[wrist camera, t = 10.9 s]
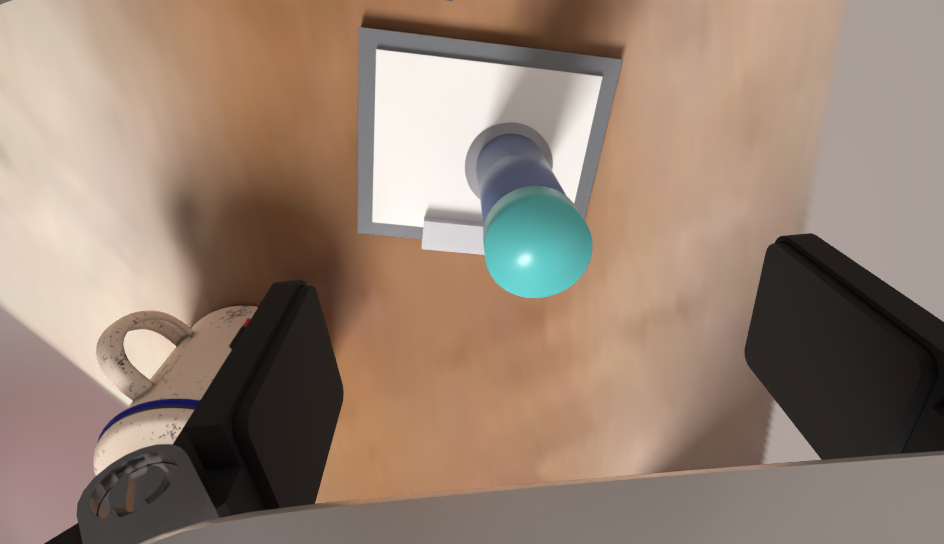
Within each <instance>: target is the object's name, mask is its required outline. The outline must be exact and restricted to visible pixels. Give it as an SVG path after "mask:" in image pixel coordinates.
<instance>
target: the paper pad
mask: <svg viewBox="0 0 944 544" xmlns="http://www.w3.org/2000/svg"><path fill="white" fill-rule="evenodd" d="M621 64H622V59H619V58H610V57H602V56H594V55H586V54H578V53H570V52H562V51H554V50H546V49H538V48H530V47H522V46H514V45H506V44H498V43H490V42H481V41H473V40H465V39H457V38H449V37H441V36H433V35H425V34H417V33H409V32H401V31H393V30H385V29H377V28H369V27H359V89H358V223H357V233H361V234H372V235H383V236H394V237H404V238H415V239H422V249H427V250H438V251H449V252H460V253H471V254H482V255H485V252H484V244H483V227H484V224H483V217H482V209H481V202H480V195H479V188H478V181H477V173H476V164H477V159H478V156H479V154H480V152H481V150H482V149H483V147H484V146H485V145H486V144H487V143H488V142H489V141H491V140H492V139H494V138H496V137H497V136H500V135H504V134H520V135H523V136H525V137H527V138H529V139H531V140H532V141H533V142H534V143H535V144H536V145H537V146H538V147H539V149H540V151H541V152H542V154H543V156H544V158H545V159H546V161H547V163H548V164H549V166H550V168H551V170H552V171H553V173H554V175H555V177H556V178H557V180H558V182H559V184H560V185H561V187H562V189H563V191H564V192H565V194H566V196H567V197H568V198H569V199H570V200H571V201H572V202H573V203H574V204H575V206H576V208H577V209H578V211H579V212H580V214H581V216H582V218H583V219H584V220H585V216H586V212H587V207H588V203H589V199H590V195H591V191H592V186H593V182H594V178H595V174H596V170H597V165H598V161H599V157H600V153H601V149H602V144H603V140H604V136H605V132H606V127H607V123H608V119H609V115H610V111H611V106H612V102H613V98H614V94H615V90H616V85H617V81H618V77H619V73H620V69H621Z"/></svg>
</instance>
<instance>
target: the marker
mask: <svg viewBox="0 0 944 544" xmlns="http://www.w3.org/2000/svg"><path fill="white" fill-rule="evenodd" d="M476 173H477V181H478V188H479V195H480V202H481V209H482V217H483V224H484V227H483V244H484V252H485V260H486V264H487V268H488V270H489V272H490V274H491V276H492V277H493V279H494V280H495V281H496V282H497V283H498V284H499V285H500V286H501V287H502V288H503V289H505V290H507V291H508V292H510V293H512V294H515V295H518V296H521V297H527V298H542V297H548V296H551V295H555V294H557V293H560V292H562V291H564V290H565V289H567V288H569V287H570V286H571V285H573V284H574V283H575V282H576V281H577V280H578V279H579V278H580V277H581V276H582V274H583V273H584V271H585V270H586V268H587V266H588V264H589V261H590V258H591V254H592V237H591V233H590V231H589V228H588V226H587V224H586V223H585V221H584V219H583V218H582V216H581V214H580V212H579V211H578V209H577V208H576V206H575V204H574V203H573V202H572V201H571V200H570V199H569V198H568V197H567V196H566V194H565V192H564V191H563V189H562V187H561V185H560V184H559V182H558V180H557V178H556V177H555V175H554V173H553V171H552V170H551V168H550V166H549V164H548V163H547V161H546V159H545V158H544V156H543V154H542V152H541V151H540V149H539V147H538V146H537V145H536V144H535V143H534V142H533V141H532V140H531V139H529V138H527V137H525V136H523V135H520V134H504V135H500V136H497V137H496V138H494V139H492V140H491V141H489V142H488V143H487V144H486V145H485V146H484V147H483V149H482V150H481V152H480V154H479V156H478V159H477V164H476Z"/></svg>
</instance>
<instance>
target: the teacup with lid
mask: <svg viewBox="0 0 944 544" xmlns="http://www.w3.org/2000/svg"><path fill="white" fill-rule="evenodd" d="M257 308H258V307H257V306H231V307H226V308H223V309H219V310H216V311H214V312H211V313H210V314H208V315H206V316H204V317H203V318H202V319H200V320H199V321H198V322H197V323H196V324H195V325H194V326H193V327H192V328H190V327H188V326H187V325H186V324H184V323H183V322H182V321H180V320H179V319H177V318H175V317H173V316H171V315H169V314H166V313H163V312H159V311H140V312H135V313H132V314H129V315H127V316H124V317H123V318H121V319H119V320H117V321H116V322H114V323H113V324H112V325H110V326H109V327H108V328H107V329H106V330H105V331H104V332H103V333H102V335H101V336H100V338H99V340H98V343H97V347H96V355H97V360H98V364H99V366H100V369H101V371H102V372H103V374H104V376H105V377H106V378H107V379H108V380H109V382H110V383H111V384H112V385H114V386H115V387H116V388H117V389H118V390H120V391H121V392H122V393H123V394H125V395H126V396H128V397H129V398H130V399H132V400H133V402H132V403H131V404H130V406H129V407H128V408H127V409H126V410H125V411H123V412H121V413H120V414H118V415H117V416H115V418H113V419H112V420H111V421H110V422H109V423H108V424H107V425H106V427H105V428H104V429H103V431H102V433H101V434H100V437H99V439H98V442H97V446H96V449H95V453H94V472H95V476H97V475H98V474H99V473H100V472H102V471H103V470H104V469H105V468H106V467H107V466H109V465H110V464H112V463H113V462H115V461H116V460H118V459H120V458H121V457H123V456H125V455H127V454H129V453H131V452H134V451H136V450H138V449H141V448H144V447H148V446H152V445H157V444H172V445H173V443H174V442H175V440H176V439H177V437H178V435H179V434H180V432H181V430H182V429H183V427H184V426H185V424H186V422H187V421H188V419H189V418H190V416H191V414H192V413H193V411H194V410H195V408H196V406H197V405H198V403H199V402H200V400H201V398H202V397H203V395H204V393H205V392H206V390H207V389H208V387H209V385H210V384H211V382H212V381H213V379H214V377H215V376H216V374H217V373H218V371H219V369H220V368H221V366H222V364H223V363H224V361H225V360H226V358H227V356H228V355H229V354H230V352H231V350H232V349H233V347H234V345H235V344H236V342H237V341H238V339H239V337H240V336H241V334H242V333H243V331H244V329H245V328H246V326H247V325H248V323H249V321H250V320H251V318H252V316H253V315H254V313H255V312H256V310H257ZM137 329H146V330H151V331H154V332H157V333H159V334H161V335H162V336H164V337H165V338H167V339H168V340H170V341H171V342H172V343H173V344H175V345H176V346H177V347H176V348H175V349H174V351H173V352H172V353H171V354H170V356H169V357H168V358H167V359H166V361H165V362H164V363H163V364H162V366H161V367H160V368H159V369H158V371H157V372H156V373H155V374H154V376H153V377H152V378H151V379H150V380H149V379H148V378H147V377H145V376H144V375H143V374H141V373H140V372H139V371H138V370H137V369H136V368H135V367H134V366H133V365H132V364H131V363H130V361H129V360H128V358H127V356H126V354H125V351H124V346H123V341H124V337H125V335H126V333H127V332H128V331H131V330H137Z"/></svg>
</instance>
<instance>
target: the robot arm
mask: <svg viewBox="0 0 944 544" xmlns="http://www.w3.org/2000/svg"><path fill="white" fill-rule="evenodd" d="M745 358H746V361H747V364H748V365H749V367H750V368H751V370H752V371H753V372H754V374H755V375H756V376H757V377H758V379H759V380H760V381H761V382H762V384H763V385H764V386H765V388H766V389H767V390H768V391H769V393H770V394H771V395H772V397H773V398H774V399H775V400H776V402H777V403H778V404H779V406H780V407H781V408H782V409H783V411H784V412H785V413H786V414H787V416H788V417H789V418H790V419H791V421H792V422H793V423H794V425H795V426H796V427H797V429H798V430H799V431H800V432H801V434H802V435H803V436H804V438H805V439H806V440H807V441H808V443H809V444H810V445H811V447H812V448H813V449H814V450H815V452H816V453H817V454H818V455H819V457H820V458H821V459H822V460H814V461H800V462H787V463H775V464H762V465H749V466H736V467H724V468H712V469H700V470H688V471H675V472H663V473H651V474H639V475H627V476H616V477H604V478H592V479H580V480H568V481H557V482H545V483H534V484H522V485H511V486H500V487H489V488H478V489H466V490H455V491H444V492H433V493H422V494H411V495H399V496H389V497H378V498H368V499H357V500H347V501H337V502H326V503H318V504H315V501H316V498H317V494H318V490H319V487H320V483H321V479H322V476H323V472H324V468H325V465H326V461H327V457H328V454H329V450H330V446H331V443H332V439H333V435H334V432H335V428H336V424H337V421H338V417H339V413H340V410H341V406H342V402H343V385H342V381H341V377H340V373H339V370H338V366H337V363H336V359H335V356H334V352H333V348H332V345H331V341H330V338H329V334H328V330H327V327H326V323H325V320H324V316H323V313H322V309H321V305H320V302H319V298H318V295H317V292H316V289H315V287H314V286H307V285H306V283H305V282H304V281H303V280H296V281H285V282H275V283H273V285H272V286H271V287H270V289H269V291H268V292H267V294H266V296H265V297H264V299H263V300H262V302H261V304H260V305H259V307H258V308H257V310H256V312H255V313H254V315H253V316H252V318H251V320H250V321H249V323H248V325H247V326H246V328H245V329H244V331H243V333H242V334H241V336H240V337H239V339H238V341H237V342H236V344H235V345H234V347H233V349H232V350H231V352H230V354H229V355H228V356H227V358H226V360H225V361H224V363H223V364H222V366H221V368H220V369H219V371H218V373H217V374H216V376H215V377H214V379H213V381H212V382H211V384H210V385H209V387H208V389H207V390H206V392H205V393H204V395H203V397H202V398H201V400H200V402H199V403H198V405H197V406H196V408H195V410H194V411H193V413H192V414H191V416H190V418H189V419H188V421H187V422H186V424H185V426H184V427H183V429H182V430H181V432H180V434H179V435H178V437H177V439H176V440H175V442H174V443H173V445H172V444H157V445H152V446H148V447H144V448H141V449H138V450H136V451H134V452H131V453H129V454H127V455H125V456H123V457H121V458H120V459H118V460H116V461H115V462H113V463H112V464H110V465H109V466H107V467H106V468H105V469H104V470H103V471H102V472H100V473H99V474H98V475H97V476H96V477H95V478H94V479H93V480H92V481H91V483H90V484H89V485H88V486H87V488H85V490H84V491H83V493H82V495H81V498H80V500H79V502H78V505H77V518H78V523H77V524H76V525H74V526H73V527H71V528H69V529H67V530H66V531H64V532H63V533H61V534H60V535H58V536H56V537H54V538H53V539H51V540H50V541H48V542H46V543H45V544H944V322H943V321H941V320H940V319H938V318H937V317H935V316H934V315H932V314H931V313H930V312H928V311H927V310H925V309H924V308H922V307H921V306H919V305H918V304H916V303H914V302H913V301H912V300H910V299H909V298H907V297H906V296H905V295H903V294H902V293H900V292H898V291H897V290H896V289H894V288H893V287H891V286H890V285H888V284H887V283H885V282H884V281H882V280H881V279H880V278H878V277H877V276H875V275H874V274H872V273H871V272H869V271H868V270H866V269H865V268H863V267H862V266H860V265H859V264H857V263H856V262H854V261H853V260H852V259H850V258H848V257H847V256H846V255H844V254H843V253H841V252H840V251H838V250H837V249H835V248H834V247H832V246H831V245H829V244H828V243H827V242H825V241H824V240H822V239H821V238H819V237H818V236H816V235H814V234H812V233H811V234H799V235H788V236H781V237H779V238H777V240H776V241H775V243H774V244H771V245H769V247H768V248H767V251H766V255H765V259H764V264H763V268H762V273H761V277H760V282H759V286H758V291H757V296H756V300H755V305H754V309H753V314H752V318H751V323H750V327H749V332H748V337H747V341H746V346H745Z"/></svg>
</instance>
